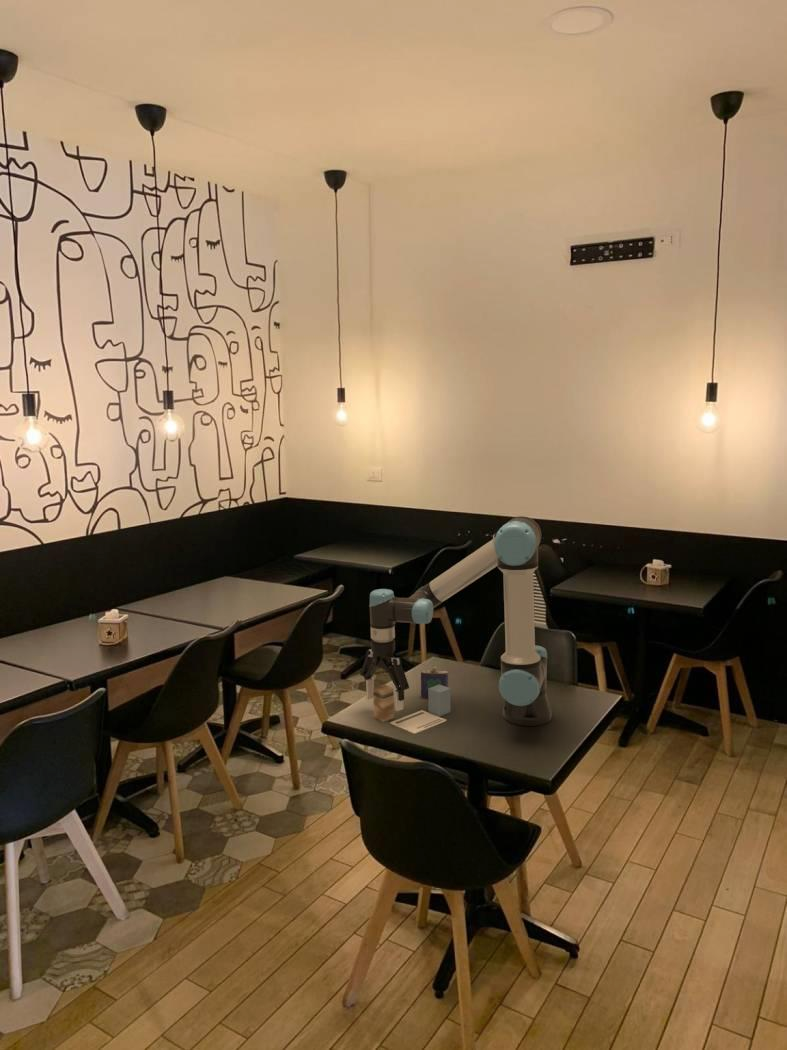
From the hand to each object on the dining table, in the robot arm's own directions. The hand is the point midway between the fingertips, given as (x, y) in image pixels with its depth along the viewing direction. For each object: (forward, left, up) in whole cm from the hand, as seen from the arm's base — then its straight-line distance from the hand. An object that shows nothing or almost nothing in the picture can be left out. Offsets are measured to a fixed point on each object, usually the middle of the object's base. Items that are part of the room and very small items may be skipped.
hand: (384, 704), depth 249 cm
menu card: (-10, -5, -5) cm, 12 cm away
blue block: (-9, -16, -5) cm, 19 cm away
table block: (0, 0, -5) cm, 5 cm away
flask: (+1, -24, -5) cm, 24 cm away
